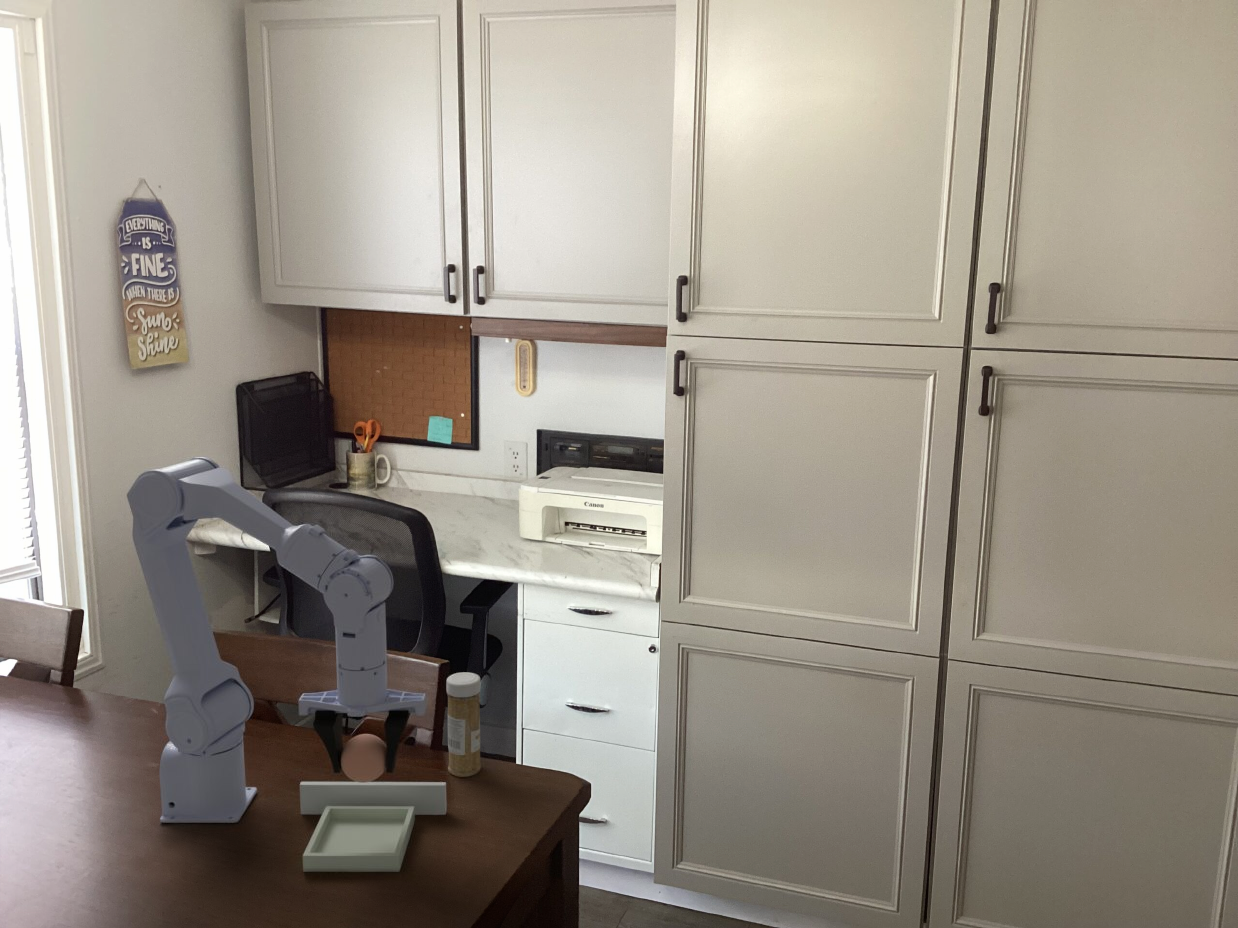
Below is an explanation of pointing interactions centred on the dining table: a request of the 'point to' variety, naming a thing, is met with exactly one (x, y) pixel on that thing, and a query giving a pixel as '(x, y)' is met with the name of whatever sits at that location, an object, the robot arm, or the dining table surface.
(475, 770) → the spice bottle
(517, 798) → the dining table surface
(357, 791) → the acrylic wall
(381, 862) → the tray
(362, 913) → the dining table surface
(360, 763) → the ball
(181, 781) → the robot arm
